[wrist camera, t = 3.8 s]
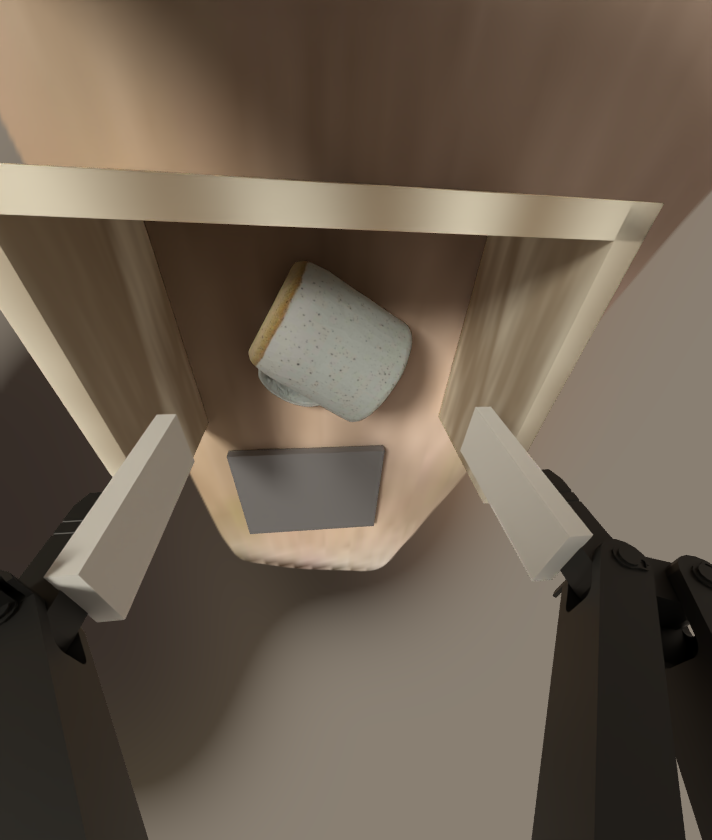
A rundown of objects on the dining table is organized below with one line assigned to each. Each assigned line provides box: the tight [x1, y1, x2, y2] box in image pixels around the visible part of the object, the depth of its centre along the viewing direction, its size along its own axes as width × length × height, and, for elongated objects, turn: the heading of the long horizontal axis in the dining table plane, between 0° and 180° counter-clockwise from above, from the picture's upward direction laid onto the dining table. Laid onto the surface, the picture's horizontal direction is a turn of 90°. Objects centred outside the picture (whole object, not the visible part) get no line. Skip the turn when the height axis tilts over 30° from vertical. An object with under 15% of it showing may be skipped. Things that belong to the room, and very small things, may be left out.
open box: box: [0, 163, 664, 504], centre depth 19 cm, size 23×17×10 cm
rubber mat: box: [227, 445, 385, 534], centre depth 34 cm, size 15×13×1 cm
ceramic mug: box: [248, 261, 412, 422], centre depth 20 cm, size 11×8×8 cm
